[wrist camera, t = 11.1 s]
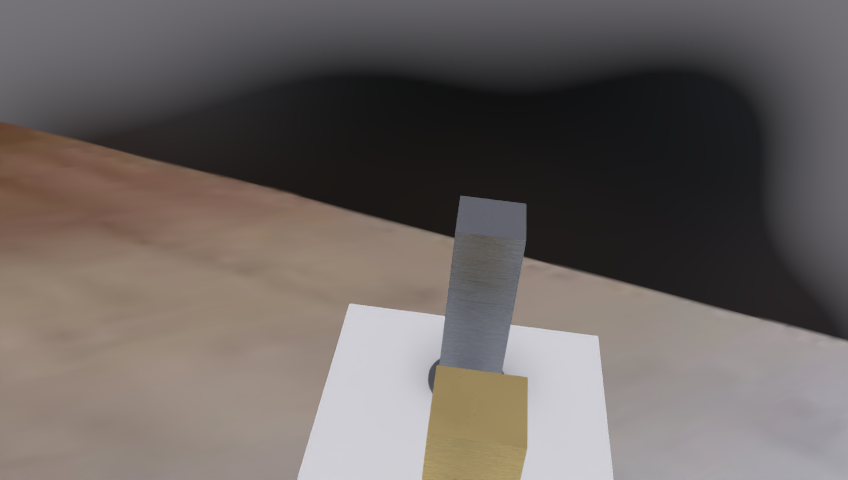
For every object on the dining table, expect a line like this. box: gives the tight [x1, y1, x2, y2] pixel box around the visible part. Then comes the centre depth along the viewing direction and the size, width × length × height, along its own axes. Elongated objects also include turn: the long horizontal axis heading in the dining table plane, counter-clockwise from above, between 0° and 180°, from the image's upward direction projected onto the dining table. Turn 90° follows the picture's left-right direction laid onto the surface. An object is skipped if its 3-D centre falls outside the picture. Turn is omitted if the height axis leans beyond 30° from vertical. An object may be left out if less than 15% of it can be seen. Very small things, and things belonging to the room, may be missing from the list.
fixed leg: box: [439, 196, 526, 374], centre depth 38 cm, size 3×3×10 cm
